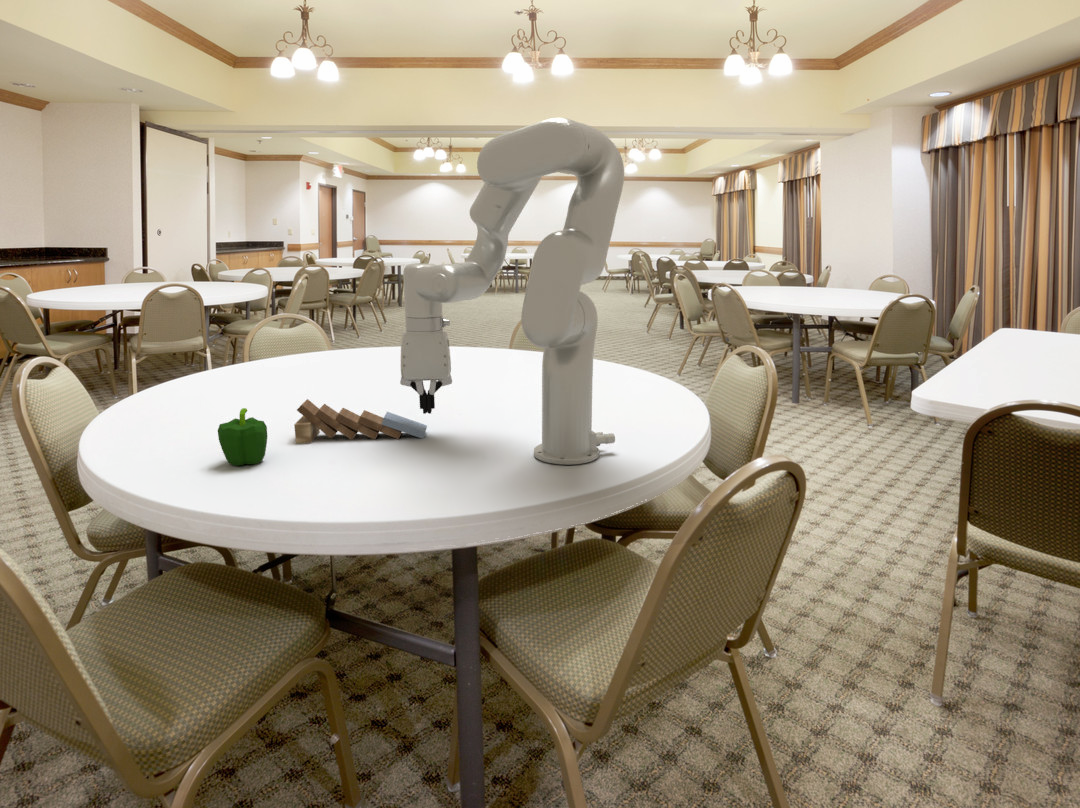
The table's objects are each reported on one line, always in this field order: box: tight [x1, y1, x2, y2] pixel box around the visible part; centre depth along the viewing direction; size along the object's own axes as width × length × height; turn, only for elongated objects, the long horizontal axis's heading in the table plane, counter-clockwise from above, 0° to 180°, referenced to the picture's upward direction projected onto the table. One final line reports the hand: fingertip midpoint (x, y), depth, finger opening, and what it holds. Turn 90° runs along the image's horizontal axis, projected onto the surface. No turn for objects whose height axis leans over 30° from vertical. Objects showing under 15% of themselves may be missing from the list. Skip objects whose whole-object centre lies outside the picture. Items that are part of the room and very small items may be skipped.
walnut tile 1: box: [358, 409, 403, 440], centre depth 149 cm, size 2×5×9 cm
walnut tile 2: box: [335, 407, 380, 440], centre depth 149 cm, size 2×5×9 cm
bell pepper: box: [217, 407, 268, 467], centre depth 131 cm, size 8×8×10 cm
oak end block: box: [294, 415, 321, 444], centre depth 148 cm, size 3×8×4 cm, turn 4°
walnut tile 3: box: [315, 403, 359, 441], centre depth 148 cm, size 2×5×9 cm
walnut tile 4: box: [296, 398, 339, 439], centre depth 148 cm, size 2×5×9 cm
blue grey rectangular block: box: [381, 411, 428, 439], centre depth 149 cm, size 2×5×9 cm
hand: (427, 411), depth 149 cm, fingers closed
